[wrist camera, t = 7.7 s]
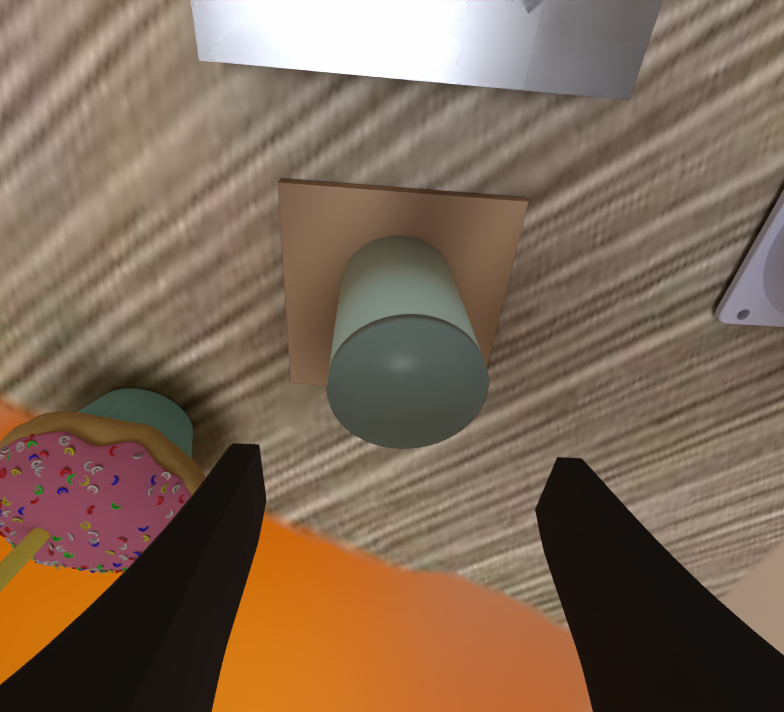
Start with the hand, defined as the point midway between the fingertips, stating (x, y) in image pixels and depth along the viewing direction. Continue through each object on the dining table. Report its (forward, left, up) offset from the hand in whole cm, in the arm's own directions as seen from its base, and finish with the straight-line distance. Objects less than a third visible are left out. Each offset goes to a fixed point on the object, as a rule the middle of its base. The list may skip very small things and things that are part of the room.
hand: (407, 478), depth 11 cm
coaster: (0, 0, -10) cm, 10 cm away
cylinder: (0, -1, -9) cm, 9 cm away
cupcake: (+12, +8, -10) cm, 18 cm away
